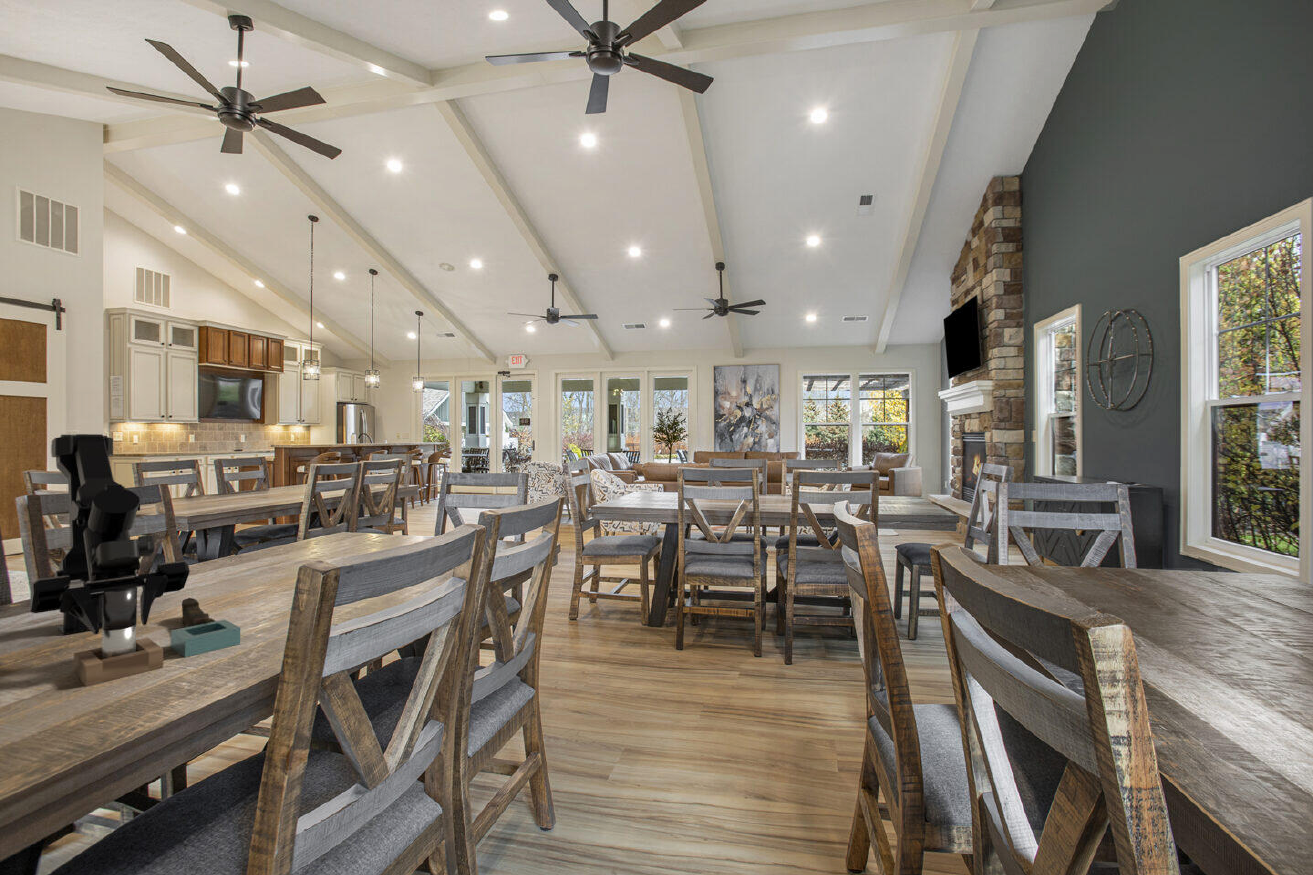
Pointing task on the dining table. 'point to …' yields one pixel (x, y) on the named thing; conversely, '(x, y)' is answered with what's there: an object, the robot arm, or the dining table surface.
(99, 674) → the frame
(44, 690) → the dining table surface
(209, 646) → the socket block
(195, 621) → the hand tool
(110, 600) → the grey and white cylinder
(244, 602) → the dining table surface
